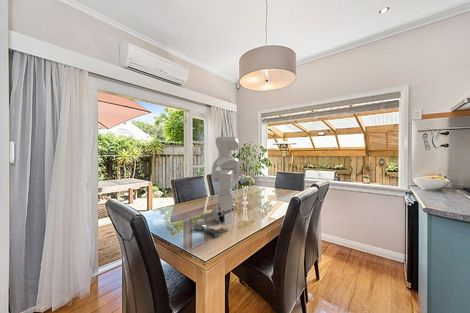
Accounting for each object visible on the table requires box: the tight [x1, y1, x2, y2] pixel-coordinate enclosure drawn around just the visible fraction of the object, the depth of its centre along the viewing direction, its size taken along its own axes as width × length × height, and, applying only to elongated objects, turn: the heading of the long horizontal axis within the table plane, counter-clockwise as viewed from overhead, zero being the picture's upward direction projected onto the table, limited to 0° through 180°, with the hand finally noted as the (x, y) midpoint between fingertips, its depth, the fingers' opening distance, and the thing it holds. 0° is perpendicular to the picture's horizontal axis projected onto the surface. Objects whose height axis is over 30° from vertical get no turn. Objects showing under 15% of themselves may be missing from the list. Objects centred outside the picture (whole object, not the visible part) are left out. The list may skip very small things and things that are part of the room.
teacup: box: [211, 207, 219, 222], centre depth 145 cm, size 14×11×8 cm
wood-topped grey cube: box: [218, 210, 233, 226], centre depth 127 cm, size 6×6×7 cm
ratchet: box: [193, 218, 221, 239], centre depth 123 cm, size 21×8×6 cm, turn 43°
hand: (225, 220), depth 128 cm, fingers closed on wood-topped grey cube, 6 cm apart
